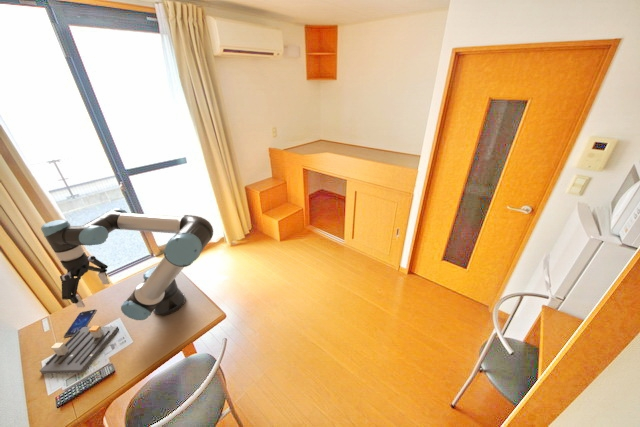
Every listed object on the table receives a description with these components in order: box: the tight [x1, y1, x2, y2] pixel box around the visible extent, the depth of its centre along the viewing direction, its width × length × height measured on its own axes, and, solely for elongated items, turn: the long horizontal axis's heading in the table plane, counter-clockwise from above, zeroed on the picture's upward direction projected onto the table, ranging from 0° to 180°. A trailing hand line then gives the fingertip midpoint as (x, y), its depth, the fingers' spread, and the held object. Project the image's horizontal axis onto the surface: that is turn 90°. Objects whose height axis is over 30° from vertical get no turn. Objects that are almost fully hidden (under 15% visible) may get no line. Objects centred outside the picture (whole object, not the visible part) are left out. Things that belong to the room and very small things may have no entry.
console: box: [39, 326, 119, 375], centre depth 104 cm, size 16×20×3 cm
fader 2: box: [89, 325, 104, 338], centre depth 107 cm, size 3×2×5 cm
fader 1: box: [50, 342, 69, 356], centre depth 100 cm, size 3×2×5 cm
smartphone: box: [63, 308, 97, 338], centre depth 117 cm, size 7×1×15 cm
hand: (94, 294), depth 106 cm, fingers open, 13 cm apart
